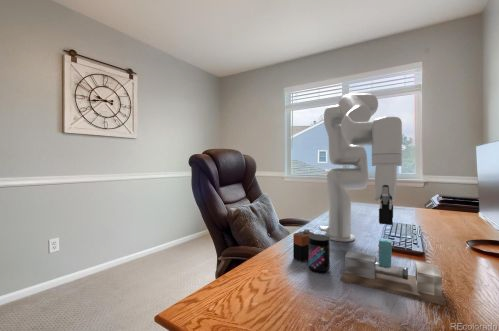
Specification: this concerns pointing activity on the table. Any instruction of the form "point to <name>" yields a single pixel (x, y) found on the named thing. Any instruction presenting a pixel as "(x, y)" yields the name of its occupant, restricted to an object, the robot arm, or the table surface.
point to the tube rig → (395, 278)
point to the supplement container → (319, 253)
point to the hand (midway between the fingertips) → (386, 220)
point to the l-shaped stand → (388, 262)
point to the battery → (301, 245)
